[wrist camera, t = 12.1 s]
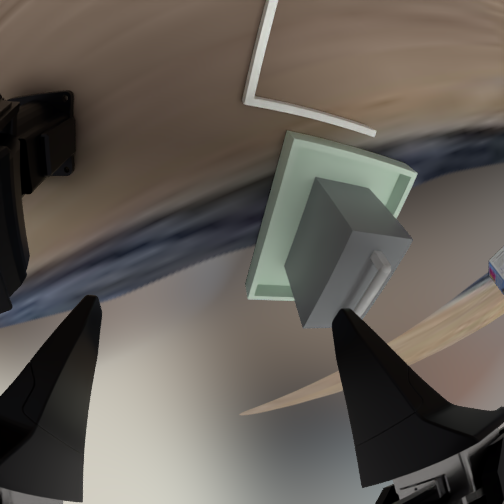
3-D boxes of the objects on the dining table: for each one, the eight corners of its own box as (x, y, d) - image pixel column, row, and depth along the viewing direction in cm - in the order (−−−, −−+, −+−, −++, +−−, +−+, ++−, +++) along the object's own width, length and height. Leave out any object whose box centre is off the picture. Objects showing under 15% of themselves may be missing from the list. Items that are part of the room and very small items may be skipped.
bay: (241, 100, 17) (244, 104, 16) (286, -69, 8) (291, -77, 7) (364, 131, 19) (374, 137, 18) (406, -19, 11) (418, -20, 9)
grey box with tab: (284, 266, 26) (308, 347, 19) (315, 176, 21) (365, 250, 14) (331, 269, 27) (364, 343, 21) (368, 188, 22) (426, 256, 15)
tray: (245, 283, 28) (247, 299, 26) (286, 130, 19) (294, 138, 17) (343, 287, 30) (349, 301, 29) (404, 163, 21) (417, 173, 20)
